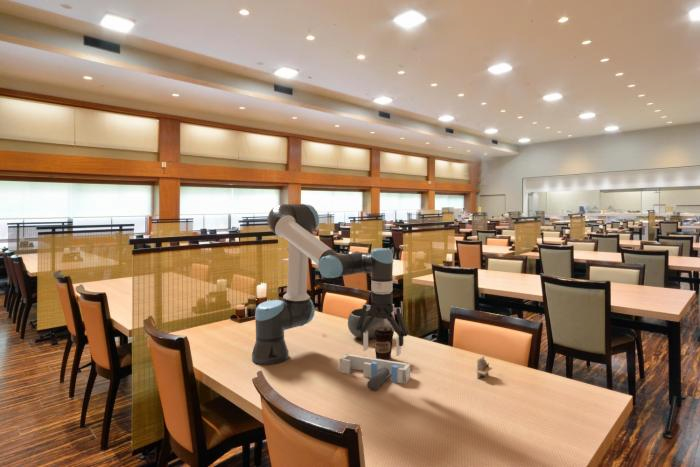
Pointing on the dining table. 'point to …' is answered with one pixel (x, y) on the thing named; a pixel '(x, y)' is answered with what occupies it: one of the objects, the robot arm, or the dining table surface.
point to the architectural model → (482, 367)
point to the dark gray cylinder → (378, 379)
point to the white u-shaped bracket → (375, 367)
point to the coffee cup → (383, 342)
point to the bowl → (354, 320)
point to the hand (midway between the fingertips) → (381, 352)
